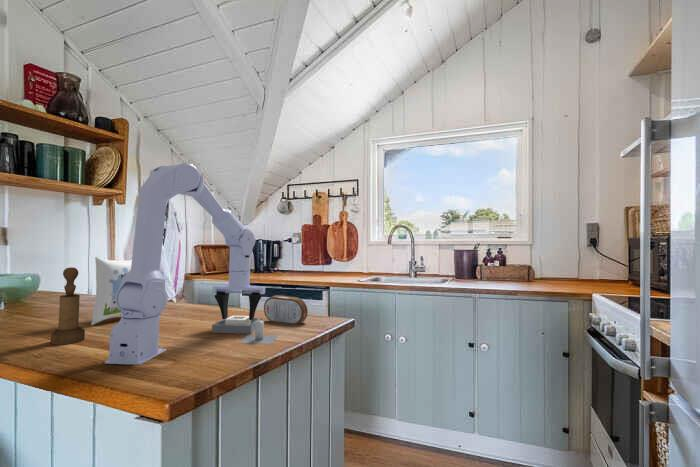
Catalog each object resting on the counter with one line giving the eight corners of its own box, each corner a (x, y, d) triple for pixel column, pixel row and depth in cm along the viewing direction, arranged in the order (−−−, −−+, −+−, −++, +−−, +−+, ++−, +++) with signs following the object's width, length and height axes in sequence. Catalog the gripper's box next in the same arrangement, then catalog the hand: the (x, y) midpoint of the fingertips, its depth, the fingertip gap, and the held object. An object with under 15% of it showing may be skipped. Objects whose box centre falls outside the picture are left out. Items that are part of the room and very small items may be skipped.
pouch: (81, 324, 107) (84, 256, 107) (141, 313, 125) (143, 254, 125) (99, 327, 104) (102, 257, 104) (158, 315, 121) (160, 255, 122)
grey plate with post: (271, 346, 88) (271, 325, 88) (238, 345, 88) (238, 324, 89) (278, 337, 96) (278, 318, 96) (248, 336, 96) (248, 317, 97)
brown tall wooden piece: (65, 345, 85) (68, 268, 86) (43, 343, 87) (46, 267, 87) (91, 338, 92) (93, 267, 92) (69, 336, 93) (72, 266, 93)
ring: (250, 326, 106) (250, 316, 106) (244, 330, 100) (245, 320, 100) (231, 325, 106) (232, 315, 106) (225, 330, 100) (225, 319, 101)
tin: (307, 325, 112) (308, 297, 112) (302, 327, 109) (303, 299, 109) (267, 319, 118) (268, 293, 119) (261, 321, 115) (262, 295, 116)
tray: (250, 335, 98) (251, 326, 98) (211, 334, 98) (212, 324, 98) (261, 326, 108) (261, 317, 108) (226, 325, 109) (226, 317, 109)
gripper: (268, 270, 107) (267, 316, 107) (219, 269, 108) (218, 315, 107) (262, 272, 100) (260, 321, 100) (210, 271, 101) (208, 320, 100)
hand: (238, 318), depth 103 cm, fingers open, 7 cm apart
